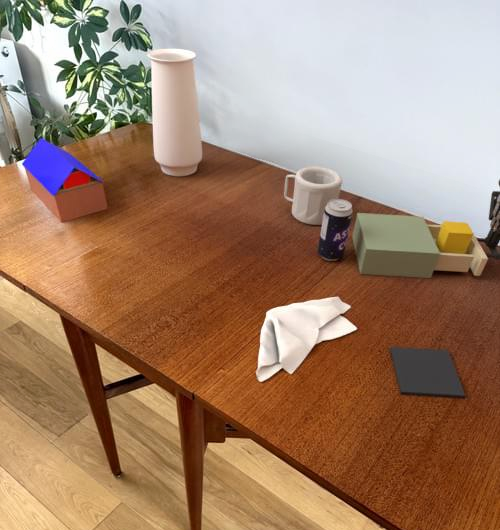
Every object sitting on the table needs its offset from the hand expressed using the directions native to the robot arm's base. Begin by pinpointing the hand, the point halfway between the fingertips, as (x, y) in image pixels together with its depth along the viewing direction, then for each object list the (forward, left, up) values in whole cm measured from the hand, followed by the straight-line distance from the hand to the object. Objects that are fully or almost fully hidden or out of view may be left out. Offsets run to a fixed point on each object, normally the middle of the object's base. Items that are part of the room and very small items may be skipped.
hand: (489, 245), depth 98 cm
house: (+96, -17, -5) cm, 98 cm away
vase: (+72, -38, -5) cm, 82 cm away
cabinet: (+20, 0, -4) cm, 21 cm away
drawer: (+7, 0, -3) cm, 8 cm away
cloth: (+41, +26, -5) cm, 49 cm away
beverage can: (+33, +1, -5) cm, 33 cm away
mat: (+20, +34, -4) cm, 40 cm away
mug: (+37, -17, -5) cm, 41 cm away
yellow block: (+8, 0, -2) cm, 8 cm away
